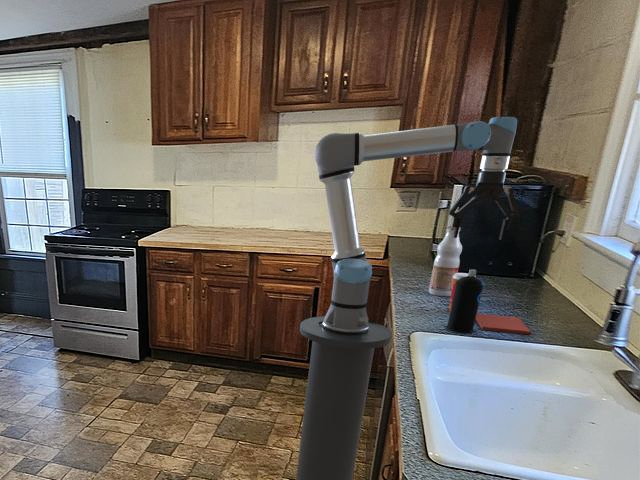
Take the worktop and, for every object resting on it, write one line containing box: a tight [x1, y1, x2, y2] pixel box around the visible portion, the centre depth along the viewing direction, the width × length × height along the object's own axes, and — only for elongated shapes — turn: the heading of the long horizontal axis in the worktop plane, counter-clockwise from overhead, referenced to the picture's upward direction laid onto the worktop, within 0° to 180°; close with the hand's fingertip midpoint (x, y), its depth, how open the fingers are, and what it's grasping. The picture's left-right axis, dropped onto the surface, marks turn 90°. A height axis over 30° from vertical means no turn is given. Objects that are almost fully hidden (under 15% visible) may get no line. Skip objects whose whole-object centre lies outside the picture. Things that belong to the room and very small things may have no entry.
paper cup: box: [448, 272, 477, 312], centre depth 195 cm, size 8×8×14 cm
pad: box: [475, 313, 532, 336], centre depth 182 cm, size 14×18×1 cm
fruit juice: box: [428, 225, 463, 297], centre depth 219 cm, size 9×9×28 cm
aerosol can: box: [445, 269, 486, 334], centre depth 173 cm, size 8×8×20 cm
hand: (477, 238), depth 174 cm, fingers open, 13 cm apart
